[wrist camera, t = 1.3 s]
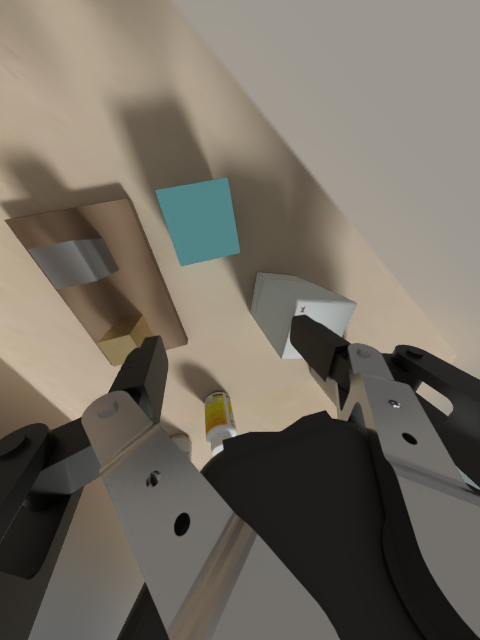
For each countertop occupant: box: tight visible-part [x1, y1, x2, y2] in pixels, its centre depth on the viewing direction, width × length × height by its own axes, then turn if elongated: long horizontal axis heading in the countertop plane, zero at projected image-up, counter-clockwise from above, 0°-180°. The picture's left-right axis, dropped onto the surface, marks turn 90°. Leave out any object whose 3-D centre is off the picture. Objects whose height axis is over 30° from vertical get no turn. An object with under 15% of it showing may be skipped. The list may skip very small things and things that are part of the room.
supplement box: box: [250, 272, 357, 359], centre depth 24 cm, size 7×7×13 cm
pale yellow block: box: [97, 315, 153, 366], centre depth 23 cm, size 4×4×6 cm
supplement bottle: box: [205, 392, 236, 456], centre depth 33 cm, size 6×6×10 cm
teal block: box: [155, 178, 240, 266], centre depth 19 cm, size 6×6×7 cm
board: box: [5, 198, 188, 365], centre depth 21 cm, size 12×20×7 cm, turn 10°
